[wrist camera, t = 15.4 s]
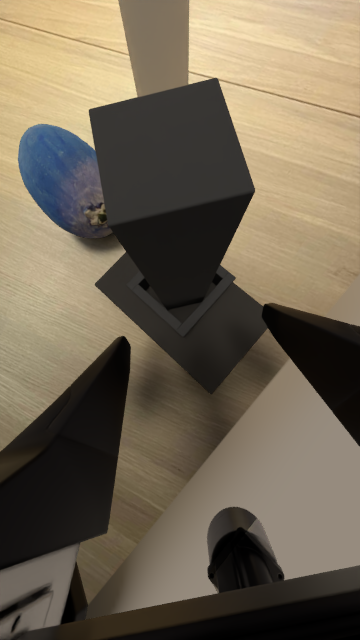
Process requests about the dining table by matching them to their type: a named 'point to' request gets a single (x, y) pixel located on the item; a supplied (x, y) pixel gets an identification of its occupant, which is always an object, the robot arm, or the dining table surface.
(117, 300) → the base pad
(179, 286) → the pad block
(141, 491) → the dining table surface
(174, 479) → the dining table surface
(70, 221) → the blue oval fruit
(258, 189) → the dining table surface
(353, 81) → the dining table surface
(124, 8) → the cup
